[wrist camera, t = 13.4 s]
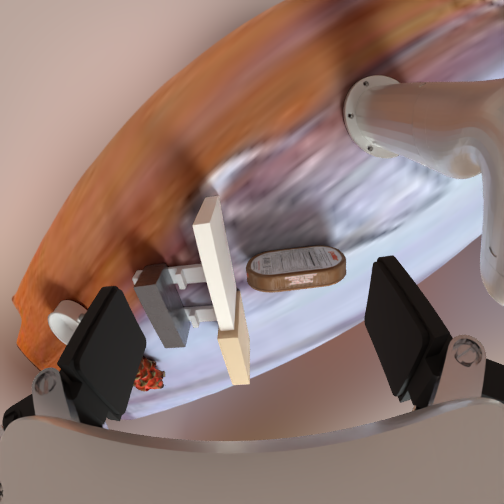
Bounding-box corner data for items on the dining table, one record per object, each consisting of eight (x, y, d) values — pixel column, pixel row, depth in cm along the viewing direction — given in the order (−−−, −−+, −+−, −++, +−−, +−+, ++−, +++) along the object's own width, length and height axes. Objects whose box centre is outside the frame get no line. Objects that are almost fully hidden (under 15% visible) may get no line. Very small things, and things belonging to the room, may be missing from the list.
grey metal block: (165, 262, 43) (155, 284, 38) (190, 323, 50) (185, 346, 45) (145, 266, 44) (133, 287, 39) (171, 325, 51) (165, 348, 45)
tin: (247, 266, 45) (247, 299, 37) (244, 249, 43) (244, 281, 36) (337, 255, 44) (353, 285, 37) (338, 239, 42) (354, 267, 35)
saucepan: (129, 310, 50) (120, 329, 45) (85, 338, 55) (76, 355, 50) (89, 270, 45) (76, 287, 40) (52, 307, 50) (41, 322, 46)
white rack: (222, 194, 39) (213, 226, 29) (249, 339, 53) (249, 384, 44) (117, 213, 40) (83, 245, 30) (168, 343, 54) (157, 384, 45)
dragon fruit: (131, 339, 56) (166, 362, 63) (111, 363, 54) (147, 384, 61) (140, 359, 50) (179, 382, 56) (117, 385, 47) (157, 405, 54)
